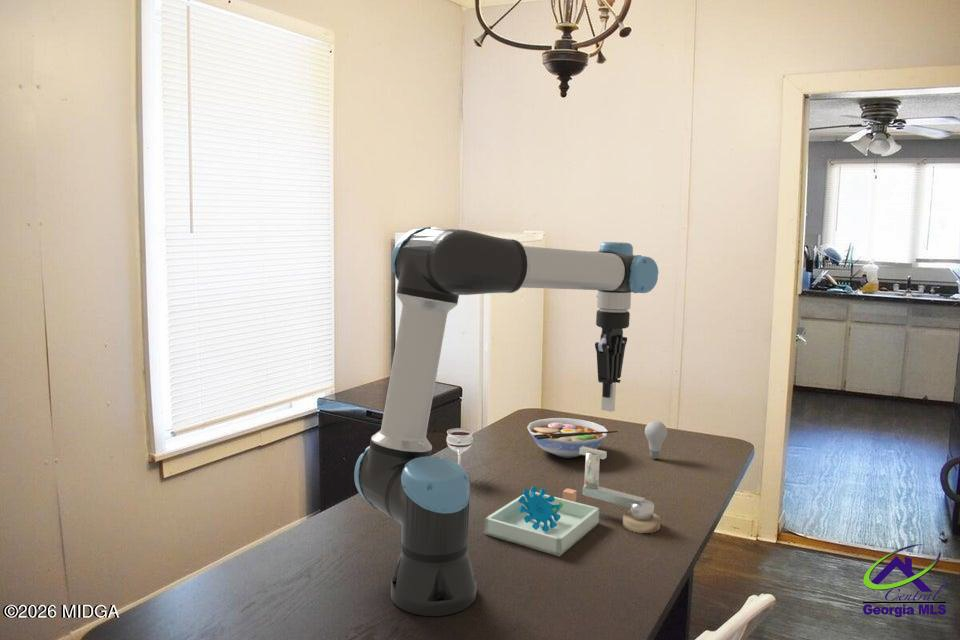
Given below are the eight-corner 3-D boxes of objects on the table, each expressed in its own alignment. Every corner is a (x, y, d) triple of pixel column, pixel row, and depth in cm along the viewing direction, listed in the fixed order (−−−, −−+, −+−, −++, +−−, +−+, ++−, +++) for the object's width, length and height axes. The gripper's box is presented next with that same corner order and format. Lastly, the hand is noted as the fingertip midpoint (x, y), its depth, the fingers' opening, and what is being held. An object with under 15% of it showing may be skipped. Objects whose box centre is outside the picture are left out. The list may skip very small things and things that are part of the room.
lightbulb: (668, 458, 208) (670, 420, 206) (661, 464, 203) (663, 425, 201) (647, 454, 211) (649, 416, 210) (639, 459, 206) (642, 421, 205)
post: (571, 510, 169) (572, 493, 169) (561, 507, 170) (562, 491, 170) (575, 506, 171) (576, 490, 171) (566, 504, 172) (567, 488, 172)
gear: (528, 529, 152) (516, 485, 158) (515, 541, 156) (503, 497, 162) (571, 527, 158) (558, 484, 163) (557, 538, 162) (545, 496, 167)
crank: (656, 515, 162) (660, 461, 160) (648, 523, 158) (651, 467, 156) (583, 496, 172) (586, 444, 170) (573, 502, 168) (576, 449, 166)
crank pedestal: (652, 537, 156) (653, 528, 156) (617, 527, 160) (617, 518, 160) (664, 524, 163) (665, 515, 163) (630, 515, 167) (630, 507, 167)
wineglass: (473, 473, 191) (474, 428, 190) (470, 482, 185) (471, 436, 183) (447, 472, 192) (448, 427, 190) (443, 481, 185) (444, 435, 184)
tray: (559, 556, 146) (560, 539, 145) (484, 534, 155) (484, 518, 155) (598, 523, 162) (599, 508, 162) (528, 504, 172) (529, 490, 171)
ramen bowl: (588, 439, 224) (589, 413, 223) (625, 463, 202) (626, 434, 201) (511, 444, 216) (512, 417, 215) (541, 470, 195) (542, 441, 194)
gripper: (610, 305, 176) (604, 402, 179) (585, 310, 165) (580, 413, 168) (639, 308, 172) (633, 407, 175) (616, 314, 161) (611, 418, 164)
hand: (607, 410), depth 172 cm, fingers closed
